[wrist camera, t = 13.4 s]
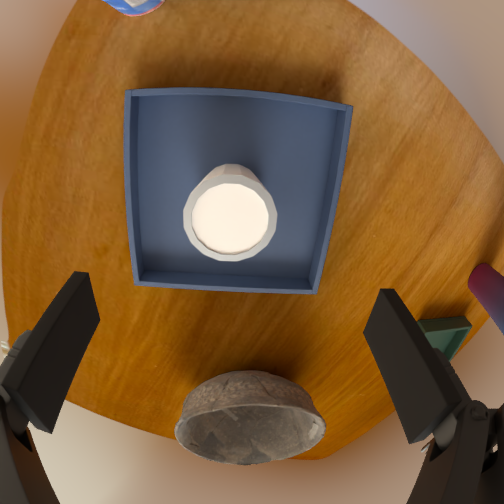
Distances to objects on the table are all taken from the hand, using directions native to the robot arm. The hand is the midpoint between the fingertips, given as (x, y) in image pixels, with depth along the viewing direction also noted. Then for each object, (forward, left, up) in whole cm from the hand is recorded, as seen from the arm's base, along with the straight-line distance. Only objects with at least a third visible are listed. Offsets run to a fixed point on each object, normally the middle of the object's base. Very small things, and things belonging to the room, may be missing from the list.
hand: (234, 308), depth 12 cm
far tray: (-34, +22, -17) cm, 44 cm away
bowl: (-4, +30, -18) cm, 35 cm away
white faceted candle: (0, 0, -17) cm, 17 cm away
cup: (-38, +9, -18) cm, 43 cm away
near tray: (0, 0, -17) cm, 17 cm away
